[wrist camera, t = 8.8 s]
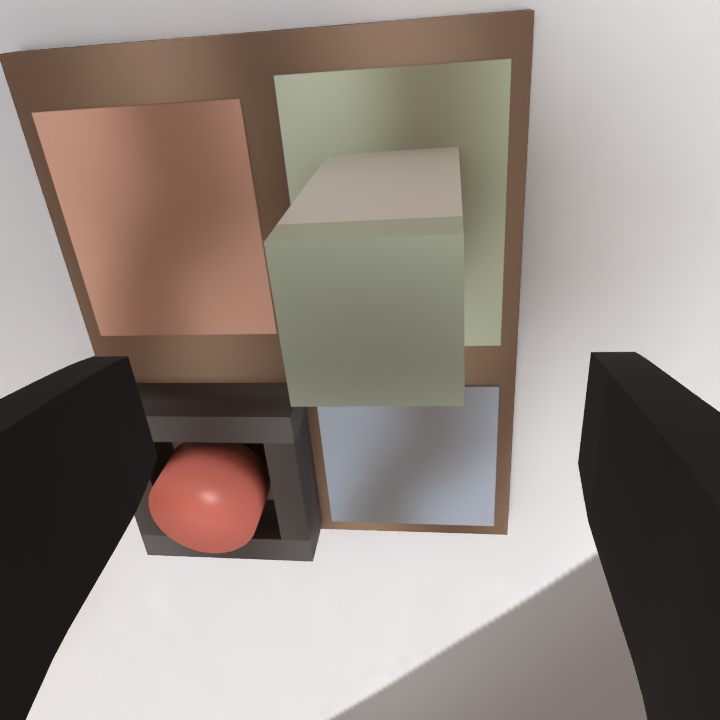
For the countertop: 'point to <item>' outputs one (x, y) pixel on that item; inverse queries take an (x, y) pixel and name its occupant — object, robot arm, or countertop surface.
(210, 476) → the button
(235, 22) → the countertop surface
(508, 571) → the countertop surface
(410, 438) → the compartment tray
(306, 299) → the two-tone sage block
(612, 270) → the countertop surface
